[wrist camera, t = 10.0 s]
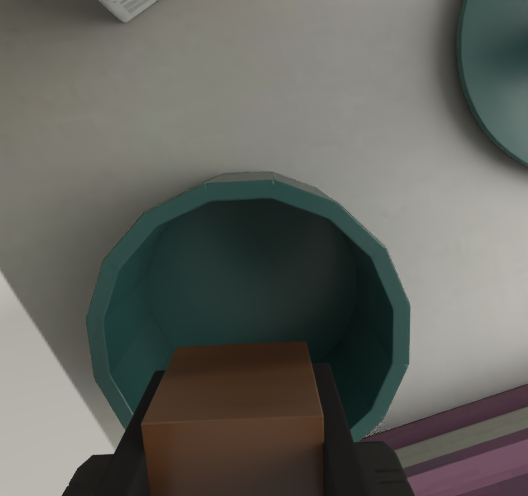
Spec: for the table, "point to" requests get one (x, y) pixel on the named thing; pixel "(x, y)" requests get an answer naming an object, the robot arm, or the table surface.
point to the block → (236, 423)
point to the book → (467, 448)
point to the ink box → (126, 7)
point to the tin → (251, 291)
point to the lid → (496, 70)
